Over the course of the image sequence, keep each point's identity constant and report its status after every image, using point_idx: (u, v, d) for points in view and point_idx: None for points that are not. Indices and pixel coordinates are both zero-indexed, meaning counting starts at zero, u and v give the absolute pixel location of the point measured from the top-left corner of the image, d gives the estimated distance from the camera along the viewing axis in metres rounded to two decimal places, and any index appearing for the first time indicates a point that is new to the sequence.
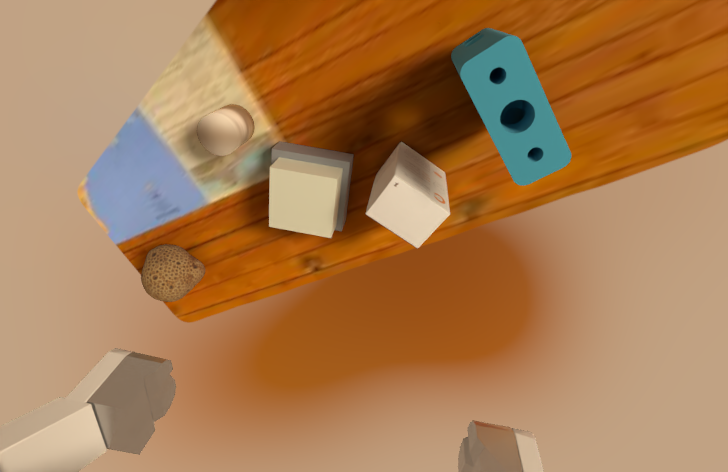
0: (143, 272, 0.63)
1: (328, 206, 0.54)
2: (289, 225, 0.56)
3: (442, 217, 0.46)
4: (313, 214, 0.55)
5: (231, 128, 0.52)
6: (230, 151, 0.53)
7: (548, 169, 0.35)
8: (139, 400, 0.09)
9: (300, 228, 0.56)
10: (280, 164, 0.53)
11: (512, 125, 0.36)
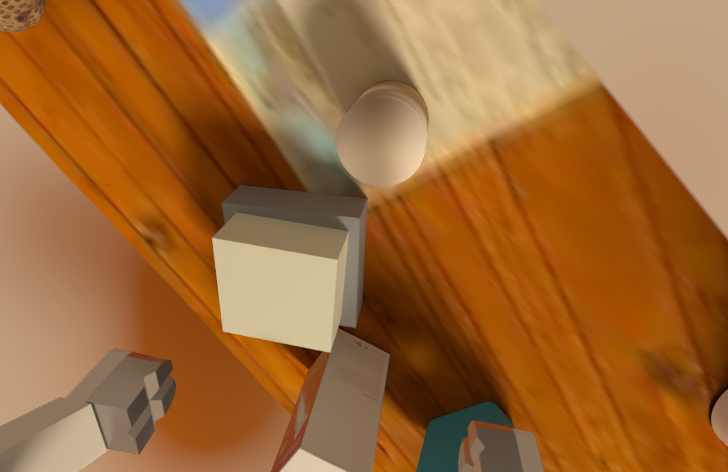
0: None
1: (279, 335, 0.32)
2: (226, 273, 0.29)
3: None
4: (259, 313, 0.31)
5: (398, 177, 0.25)
6: (349, 168, 0.25)
7: None
8: (139, 400, 0.09)
9: (226, 290, 0.30)
10: (341, 259, 0.29)
11: None
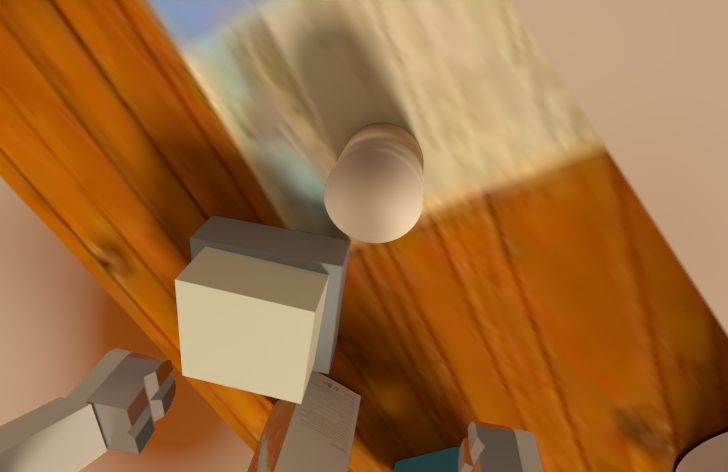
0: None
1: (246, 383, 0.29)
2: (189, 317, 0.26)
3: None
4: (224, 360, 0.28)
5: (389, 235, 0.23)
6: (336, 221, 0.23)
7: None
8: (139, 400, 0.09)
9: (188, 334, 0.27)
10: (319, 308, 0.26)
11: None
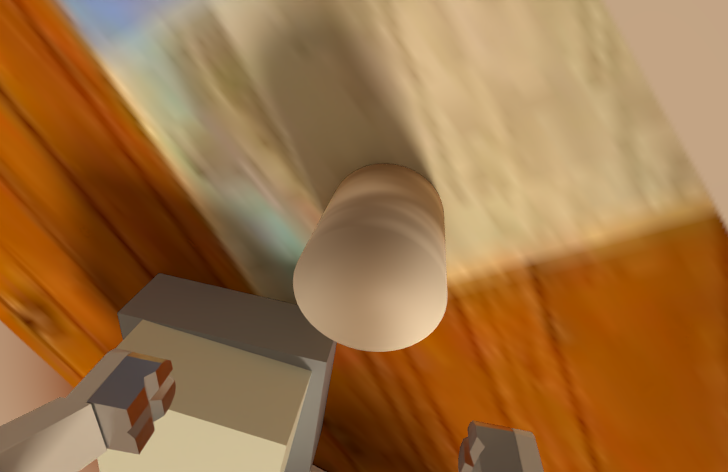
0: None
1: None
2: None
3: None
4: None
5: (393, 343, 0.15)
6: (312, 319, 0.15)
7: None
8: (139, 400, 0.09)
9: None
10: (294, 426, 0.19)
11: None
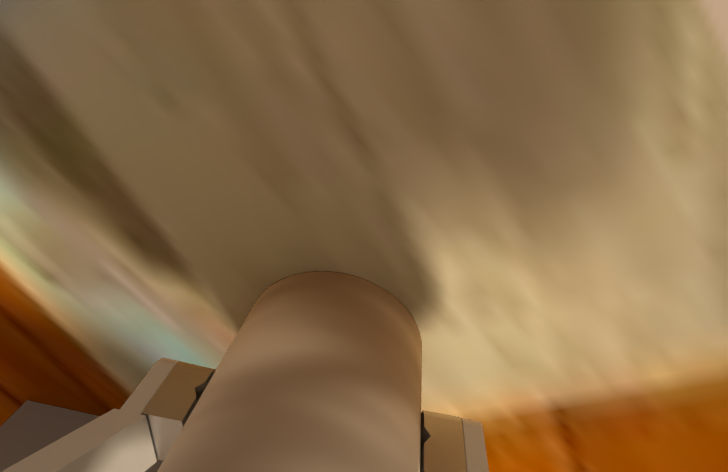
0: None
1: None
2: None
3: None
4: None
5: None
6: None
7: None
8: None
9: None
10: None
11: None
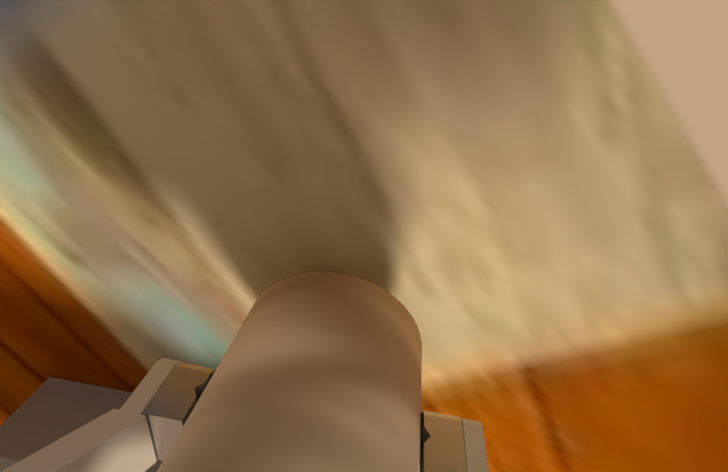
0: None
1: None
2: None
3: None
4: None
5: None
6: None
7: None
8: None
9: None
10: None
11: None
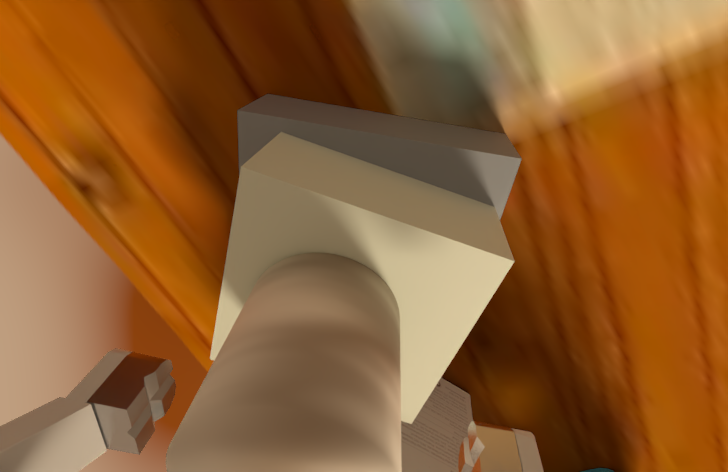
0: None
1: None
2: (251, 251, 0.14)
3: None
4: None
5: None
6: None
7: None
8: (139, 400, 0.09)
9: (239, 284, 0.14)
10: None
11: None
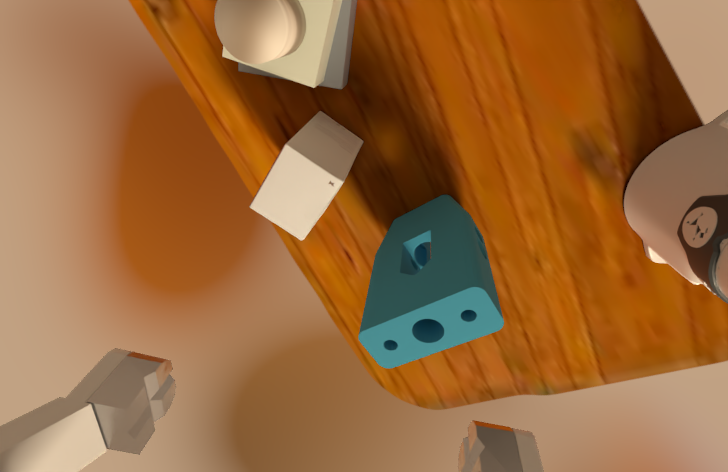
0: None
1: (273, 64, 0.37)
2: None
3: (296, 233, 0.39)
4: None
5: (256, 59, 0.31)
6: (220, 34, 0.31)
7: (376, 354, 0.36)
8: (139, 400, 0.09)
9: None
10: None
11: None
